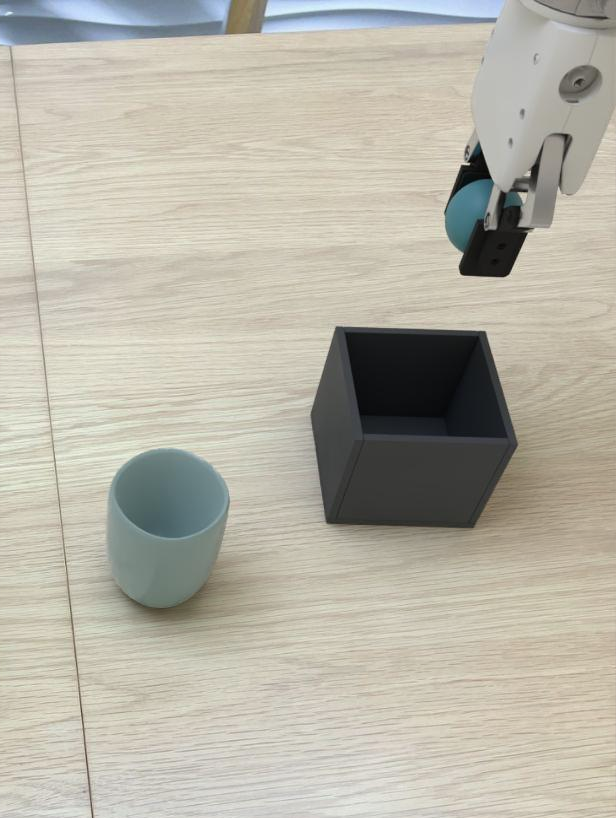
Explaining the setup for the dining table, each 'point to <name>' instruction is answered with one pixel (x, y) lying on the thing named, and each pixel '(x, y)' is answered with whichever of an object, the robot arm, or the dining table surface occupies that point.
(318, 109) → the dining table surface
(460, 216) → the teal ball
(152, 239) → the dining table surface
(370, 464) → the bin
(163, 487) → the cup
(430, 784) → the dining table surface
